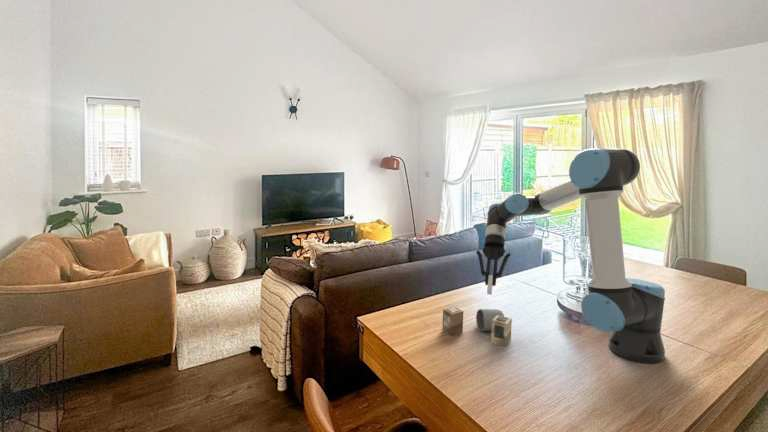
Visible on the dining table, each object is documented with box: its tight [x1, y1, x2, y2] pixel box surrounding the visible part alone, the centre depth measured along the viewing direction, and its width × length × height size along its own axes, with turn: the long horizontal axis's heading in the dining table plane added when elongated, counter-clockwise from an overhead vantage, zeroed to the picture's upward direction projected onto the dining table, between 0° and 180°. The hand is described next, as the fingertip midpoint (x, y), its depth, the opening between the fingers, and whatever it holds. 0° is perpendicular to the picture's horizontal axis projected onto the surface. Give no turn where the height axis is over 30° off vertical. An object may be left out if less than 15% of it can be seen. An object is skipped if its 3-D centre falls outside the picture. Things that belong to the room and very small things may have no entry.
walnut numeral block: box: [441, 306, 464, 337], centre depth 140 cm, size 5×5×8 cm
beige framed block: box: [490, 315, 513, 347], centre depth 132 cm, size 5×5×8 cm
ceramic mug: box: [475, 308, 505, 332], centre depth 143 cm, size 11×8×8 cm
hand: (489, 292), depth 144 cm, fingers closed
